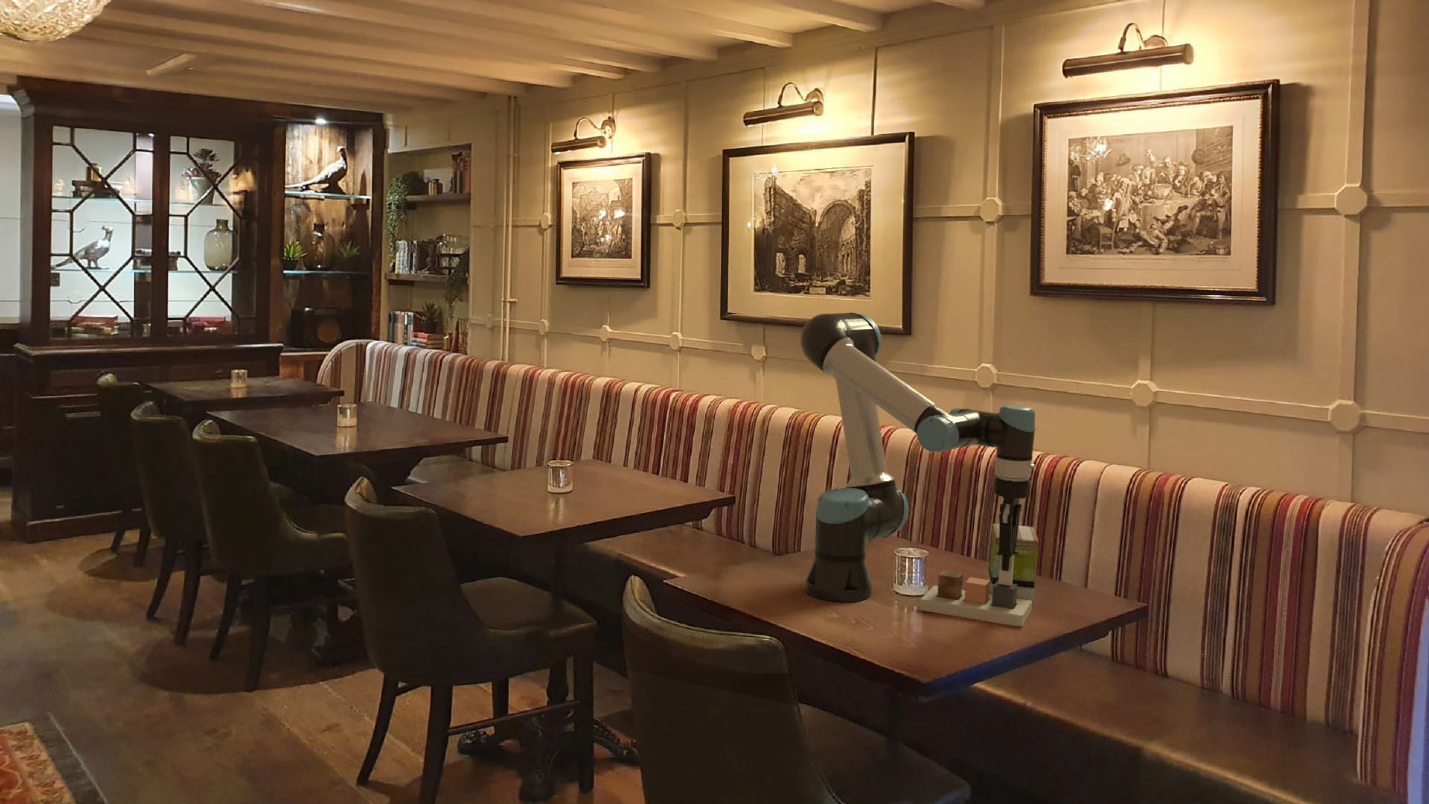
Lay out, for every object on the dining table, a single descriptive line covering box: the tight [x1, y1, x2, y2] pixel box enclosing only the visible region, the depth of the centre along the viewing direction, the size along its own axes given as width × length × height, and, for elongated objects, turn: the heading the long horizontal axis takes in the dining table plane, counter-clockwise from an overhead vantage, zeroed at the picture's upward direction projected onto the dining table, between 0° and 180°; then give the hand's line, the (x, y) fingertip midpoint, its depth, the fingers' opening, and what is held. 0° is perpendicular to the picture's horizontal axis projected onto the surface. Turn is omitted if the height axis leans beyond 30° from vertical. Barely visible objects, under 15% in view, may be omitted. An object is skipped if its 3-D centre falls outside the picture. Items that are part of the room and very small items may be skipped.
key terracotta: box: [964, 577, 990, 605], centre depth 244 cm, size 4×4×5 cm
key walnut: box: [937, 569, 964, 600], centre depth 247 cm, size 4×4×5 cm
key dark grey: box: [992, 581, 1018, 609], centre depth 242 cm, size 4×4×5 cm
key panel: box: [919, 584, 1033, 628], centre depth 245 cm, size 22×12×2 cm, turn 65°
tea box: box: [987, 523, 1040, 603], centre depth 259 cm, size 15×10×15 cm
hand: (1005, 583), depth 242 cm, fingers closed
